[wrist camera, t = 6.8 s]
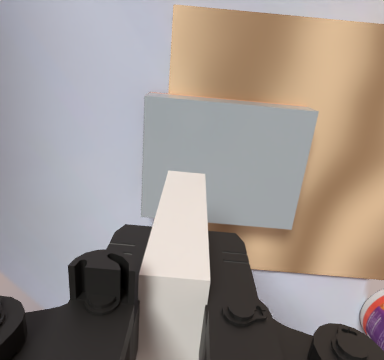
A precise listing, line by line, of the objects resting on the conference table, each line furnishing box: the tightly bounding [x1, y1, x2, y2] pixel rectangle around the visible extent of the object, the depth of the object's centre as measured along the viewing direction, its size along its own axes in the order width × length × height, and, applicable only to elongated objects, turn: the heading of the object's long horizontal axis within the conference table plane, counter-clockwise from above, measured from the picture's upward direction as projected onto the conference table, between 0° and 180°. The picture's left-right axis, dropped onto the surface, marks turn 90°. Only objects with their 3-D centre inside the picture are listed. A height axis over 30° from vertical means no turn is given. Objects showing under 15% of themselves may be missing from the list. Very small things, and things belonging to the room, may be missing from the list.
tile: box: [141, 92, 319, 230], centre depth 18 cm, size 2×7×9 cm
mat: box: [169, 5, 384, 280], centre depth 19 cm, size 22×16×1 cm
